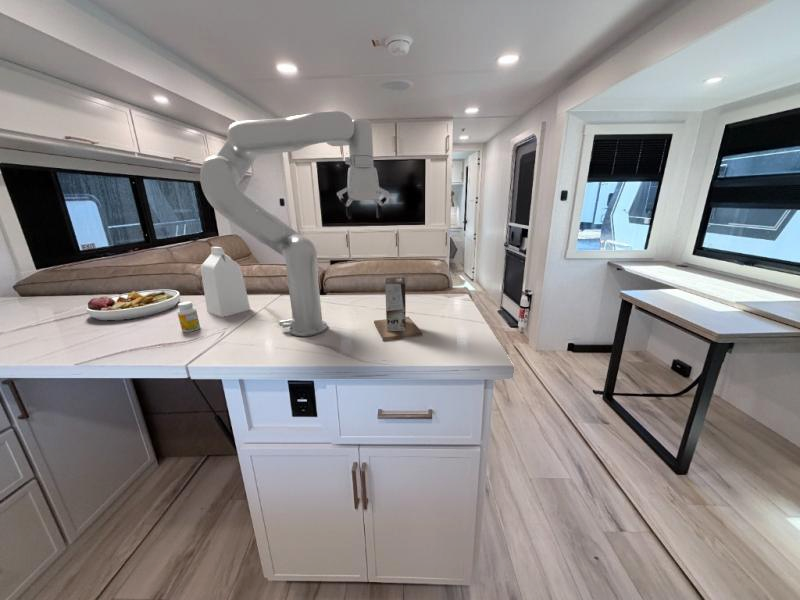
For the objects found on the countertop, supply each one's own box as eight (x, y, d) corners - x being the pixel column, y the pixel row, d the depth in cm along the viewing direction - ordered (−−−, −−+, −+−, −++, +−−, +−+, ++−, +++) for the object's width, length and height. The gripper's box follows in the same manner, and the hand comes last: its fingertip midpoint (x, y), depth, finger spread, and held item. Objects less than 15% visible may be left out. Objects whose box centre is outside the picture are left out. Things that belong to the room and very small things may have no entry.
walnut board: (383, 341, 95) (382, 337, 95) (374, 323, 109) (373, 320, 109) (422, 335, 98) (422, 332, 98) (408, 319, 112) (408, 316, 112)
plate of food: (177, 295, 149) (173, 280, 147) (186, 310, 127) (182, 292, 125) (93, 310, 130) (87, 292, 128) (86, 330, 109) (79, 309, 106)
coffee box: (406, 331, 99) (405, 283, 94) (386, 331, 99) (384, 283, 94) (405, 321, 108) (404, 276, 103) (387, 321, 108) (385, 276, 103)
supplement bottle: (180, 329, 107) (173, 303, 104) (197, 325, 111) (191, 299, 108) (184, 333, 103) (177, 306, 100) (202, 328, 107) (196, 302, 104)
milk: (207, 311, 124) (193, 248, 116) (235, 304, 133) (223, 244, 125) (222, 317, 118) (208, 250, 110) (250, 309, 127) (239, 246, 119)
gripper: (335, 161, 92) (339, 219, 98) (390, 162, 97) (392, 218, 102) (333, 164, 99) (337, 218, 105) (385, 165, 104) (386, 217, 109)
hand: (364, 218), depth 103 cm, fingers open, 9 cm apart
